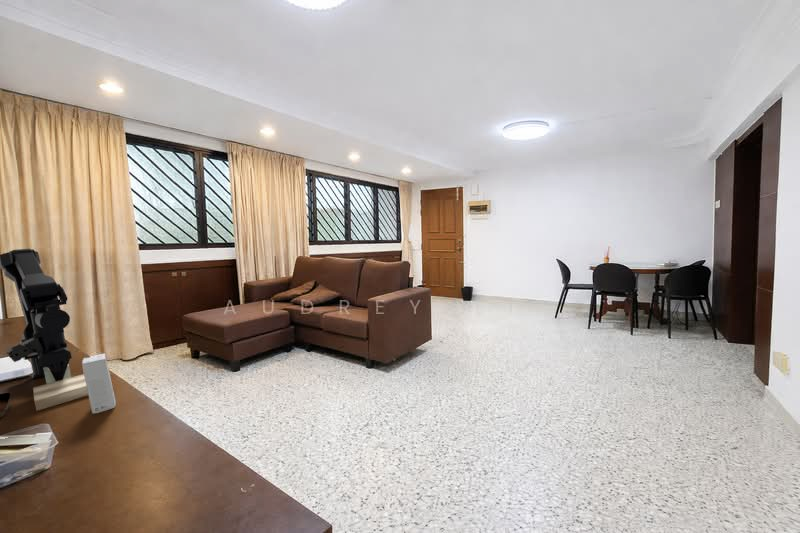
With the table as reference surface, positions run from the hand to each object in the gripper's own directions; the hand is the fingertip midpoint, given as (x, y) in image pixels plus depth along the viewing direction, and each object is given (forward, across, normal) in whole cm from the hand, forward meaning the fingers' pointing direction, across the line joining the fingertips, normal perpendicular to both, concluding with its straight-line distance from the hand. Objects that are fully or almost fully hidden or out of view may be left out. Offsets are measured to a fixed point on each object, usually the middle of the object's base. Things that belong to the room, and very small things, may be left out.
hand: (58, 380), depth 101 cm
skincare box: (+1, +30, +6) cm, 31 cm away
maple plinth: (+1, +12, 0) cm, 12 cm away
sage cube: (+1, 0, 0) cm, 1 cm away
